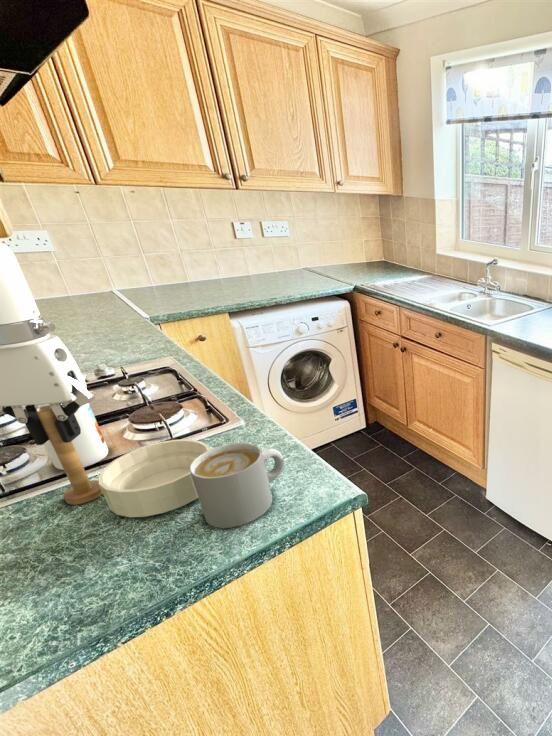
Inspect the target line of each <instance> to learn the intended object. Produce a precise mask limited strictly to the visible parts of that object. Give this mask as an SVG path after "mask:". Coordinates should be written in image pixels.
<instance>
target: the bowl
mask: <svg viewBox="0 0 552 736" xmlns="http://www.w3.org/2000/svg"><path fill="white" fill-rule="evenodd" d="M210 449H211V448H210V446H209V445H208V444H207V443H205V442H203V441H201V440H197V439H189V438H188V439H183V438H182V439H171V440H164V441H159V442H155V443H151V444H147V445H144V446H141V447H139V448H136V449H134V450H130V451H128V452H126V453H124V454H122V455H121V456H119V457H117V458H116V459H113V460H112V461H111V462H110V463H109V464H107V465H106V466H105V467H103V469H102V470H101V471H100V473H99V474H98V476H97V481H98V483H99V486H100V488H101V491H102V493H103V494H102V495H103V497H104V500H105V501H106V504H107V507H108V508H109V510H110V511H112V512H113V513H114V514H115V515H116V516H121V517H127V518H145V517H150V516H155V515H160V514H164V513H168V512H170V511H174V510H176V509H179V508H181V507H184V506H186V505H187V504H189V503H192V502H193V501H196V500H197V499H199V498H198V495H197V492H196V489H195V485H194V482H193V479H192V476H191V473H190V465H191V463H192V462H193V461H194V460H195V459H196V458H197V457H198V456H199V455H201V454H203V453H204V452H206V451H208V450H210Z"/></svg>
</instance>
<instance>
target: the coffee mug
mask: <svg viewBox="0 0 552 736" xmlns="http://www.w3.org/2000/svg"><path fill="white" fill-rule="evenodd" d="M269 458H272V459H273V461H274V462H273V463H274V465H273V468H272V469H271V470H269V471H267V469H266V462H267V460H269ZM284 467H285V460H284V456H283V453H281V452H280V451H279V450H278V449H275V448H268V449H265V450H262V449H261V448H260V447H259V446H258V445H256V444H253V443H251V442H233V443H227V444H223V445H218V446H216V447H212V448H210V450H208V451H206V452H204V453H203V454H201V455H199V456H198V457H197V458H196V459H195V460H194V461H193V462H192V463H191V465H190V473H191V476H192V479H193V482H194V485H195V489H196V492H197V495H198V498H197V499H198V501H199V504H200V507H201V509H202V514H203V516H204V519H205V522H206V523H207V524H208V525H210V527H211V526H212V527H214V528H218V529H219V528H220V529H229V528H235V527H239V526H243V525H246V524H249V523H251V522H253V521H255V520H257V519H258V518H260V517H261V516H263V515H264V514H265V513H266V512H267V511H268V510H269V509H270V508H271V506H272V504H273V499H274V498H273V494H272V490H271V486H270V484H271V483H272V482H273V481H275V480H276V479H277V478H278V477H279V476H280V475H281V474H282V472H283V471H284Z"/></svg>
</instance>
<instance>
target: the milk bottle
mask: <svg viewBox="0 0 552 736" xmlns="http://www.w3.org/2000/svg"><path fill="white" fill-rule="evenodd" d="M71 394H72V393H71ZM75 399H76V397H75V396H74V395H73V394H72V401H73V400H75ZM48 405H49V404H39V405H37V406H38V408H40V407H43V406H48ZM74 415H75V417H76V419H77V422H78V424H79V426H80V429H81V433H80V435H78V436H77V437H76V438H75V439H74V440H72V443H73V445H74V448H75V450H76V452H77V454H78V456H79V459H80V461H81V463H82V465H83V467H84V468H87V467H89V466H92V465H94V464H96V463H99V462H100V461H102V460H103V459H105V458H106V457H107V456H108V454H109V448H108V445H107V443H106V441H105V438H104V435H103V433H102V431H101V428H100V427H99V424H98V421H97V418H96V416H95V415H94V412H93V410H92V408H91V406H90V403H87V404H85V405H83V406H81V407H80V408H79V409H78V410H77V412H76V413H74ZM43 447H44V448H45V451H46V453H47V455H48V456H49V458H50V461H51V463H52V464H53V466H54V467H55V468H56V469H58V470H61V471H64V469H63V467H62V465H61V463H60V460H59V458H58V456H57V454H56V452H55V450H54V448H53V446H52V444H51V442H50V440H48V441H47V442H45V443H44V444H43Z"/></svg>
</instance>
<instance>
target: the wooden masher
mask: <svg viewBox="0 0 552 736" xmlns="http://www.w3.org/2000/svg"><path fill="white" fill-rule="evenodd" d="M36 413H37V415H38V417H39V419H40V421H41V423H42V425H43V427H44V429H45V431H46V433H47V436H48V438H49V440H50V442H51V444H52V446H53V448H54V450H55V452H56V454H57V456H58V458H59V460H60V463H61V465H62V467H63V469H64V470H63V471H64V473H65V475H66V477H67V479H68V482H69V484H70V485H71V487H70V488H68V489H67V490H66V491H64V493H63V499H64V500H65V502H66V504H68V505H82V504H86V503H88V502H91V501H94V500H96V499H97V498H99V497H101V496H102V495H103V493H102V491H101V488H100V486H99V483H98V480H90V478H89V476H88V474H87V472H86V470H85V467H83V465H82V463H81V461H80V459H79V456H78V454H77V452H76V450H75V448H74V445H73V443H72V441H71V442H68V443H65V442H63V440H62V438H61V436H60V434H59V432H58V430H57V428H56V425H55V422H56V421H57V420H58V419H57V417H56V416H55V414H54V412H53V411H52V409H51V407H50V405H48V406H43V407H40V408H38V409H36Z"/></svg>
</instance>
